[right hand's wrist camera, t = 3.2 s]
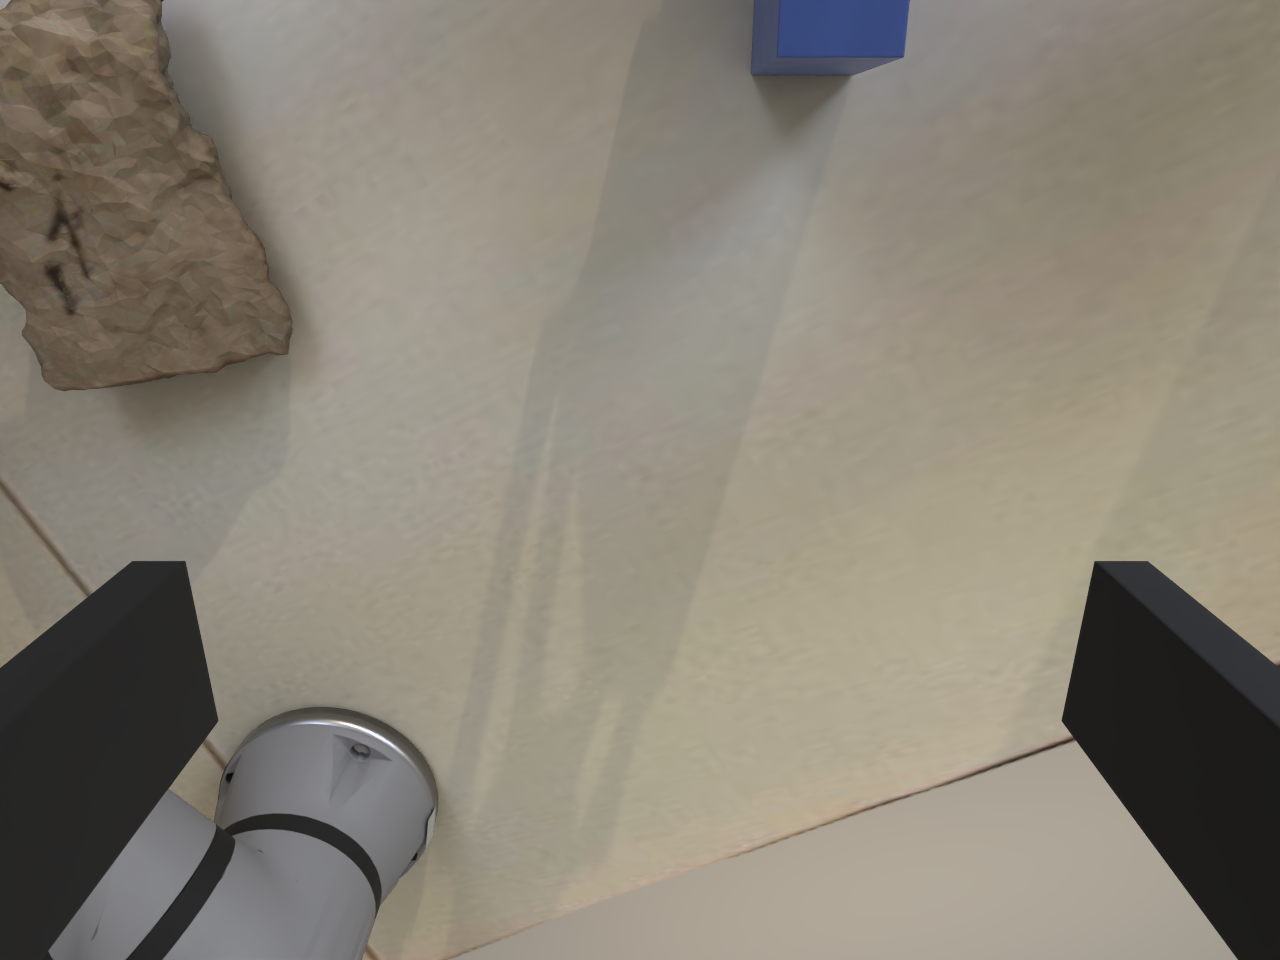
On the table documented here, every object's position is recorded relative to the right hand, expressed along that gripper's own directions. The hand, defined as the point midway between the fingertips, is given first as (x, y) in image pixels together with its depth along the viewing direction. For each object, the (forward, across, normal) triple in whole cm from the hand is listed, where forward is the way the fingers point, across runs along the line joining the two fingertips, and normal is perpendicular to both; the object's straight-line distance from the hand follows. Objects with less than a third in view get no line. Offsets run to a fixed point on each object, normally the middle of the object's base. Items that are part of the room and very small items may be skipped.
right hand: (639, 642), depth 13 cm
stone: (+41, +29, -4) cm, 50 cm away
